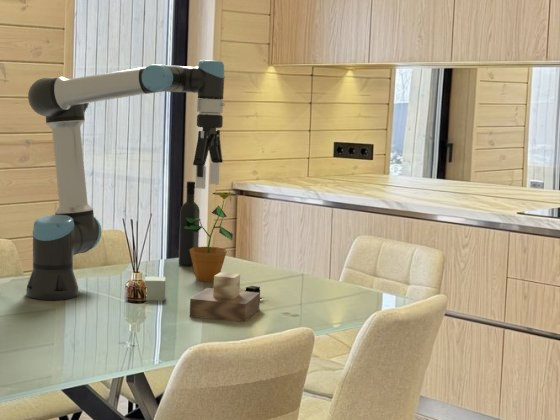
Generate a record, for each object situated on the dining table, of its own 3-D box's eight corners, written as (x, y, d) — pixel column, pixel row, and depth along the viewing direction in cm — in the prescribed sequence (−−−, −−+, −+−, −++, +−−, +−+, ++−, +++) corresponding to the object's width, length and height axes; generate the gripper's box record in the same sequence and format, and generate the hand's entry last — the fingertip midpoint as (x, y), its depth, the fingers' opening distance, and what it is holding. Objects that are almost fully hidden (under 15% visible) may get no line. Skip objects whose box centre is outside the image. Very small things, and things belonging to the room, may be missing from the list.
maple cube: (213, 296, 271) (213, 276, 271) (219, 292, 277) (220, 272, 276) (233, 298, 270) (234, 277, 269) (239, 294, 276) (240, 274, 275)
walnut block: (189, 316, 268) (190, 298, 268) (206, 304, 284) (207, 287, 283) (244, 321, 265) (245, 304, 264) (259, 309, 280) (259, 292, 280)
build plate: (251, 306, 286) (252, 291, 285) (230, 303, 289) (231, 288, 289) (272, 300, 296) (273, 285, 296) (252, 296, 300) (252, 282, 299)
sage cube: (144, 300, 286) (145, 280, 285) (144, 295, 292) (145, 276, 291) (164, 300, 287) (165, 280, 286) (164, 296, 293) (165, 276, 292)
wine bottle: (177, 265, 344) (180, 181, 340) (184, 262, 349) (187, 180, 345) (191, 266, 342) (194, 182, 338) (198, 264, 347) (201, 181, 343)
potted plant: (245, 279, 324) (248, 190, 320) (211, 287, 308) (215, 194, 305) (202, 271, 334) (206, 185, 330) (168, 279, 318) (171, 189, 314)
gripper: (209, 115, 267) (207, 191, 270) (233, 113, 291) (231, 183, 294) (184, 113, 269) (181, 189, 271) (210, 112, 293) (207, 181, 296)
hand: (207, 186), depth 283 cm, fingers open, 13 cm apart
